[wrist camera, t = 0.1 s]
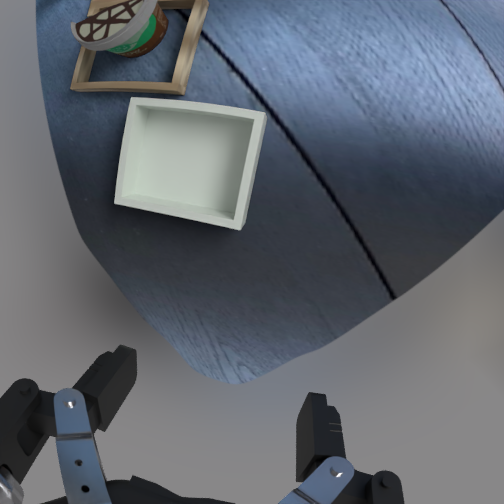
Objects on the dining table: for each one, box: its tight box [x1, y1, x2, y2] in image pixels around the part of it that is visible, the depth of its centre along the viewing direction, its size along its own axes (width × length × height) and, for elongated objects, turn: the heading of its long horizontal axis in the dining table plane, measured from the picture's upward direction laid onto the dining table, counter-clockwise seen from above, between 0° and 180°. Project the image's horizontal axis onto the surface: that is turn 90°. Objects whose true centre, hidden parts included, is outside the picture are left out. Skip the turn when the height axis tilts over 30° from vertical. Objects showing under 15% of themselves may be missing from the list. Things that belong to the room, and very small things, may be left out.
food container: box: [71, 0, 168, 58], centre depth 29 cm, size 12×6×10 cm, turn 96°
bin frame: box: [70, 0, 209, 95], centre depth 32 cm, size 15×18×3 cm
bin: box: [114, 97, 267, 230], centre depth 36 cm, size 14×17×5 cm
